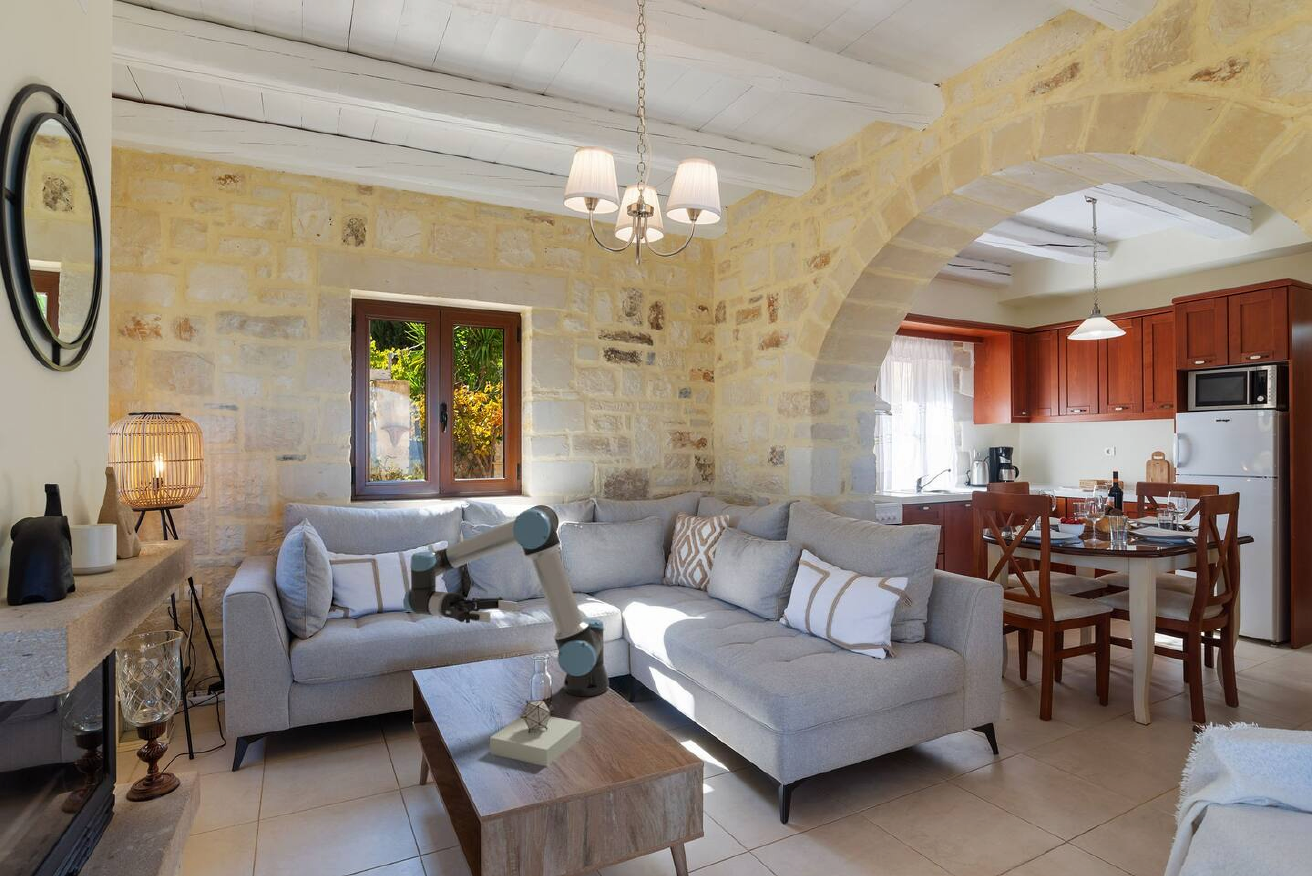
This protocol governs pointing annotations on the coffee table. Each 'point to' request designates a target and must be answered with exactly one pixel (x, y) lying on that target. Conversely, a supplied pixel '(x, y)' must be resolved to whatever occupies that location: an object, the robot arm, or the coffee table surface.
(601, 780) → the coffee table surface
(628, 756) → the coffee table surface
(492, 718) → the coffee table surface
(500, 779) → the coffee table surface
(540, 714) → the game die
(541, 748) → the base block
